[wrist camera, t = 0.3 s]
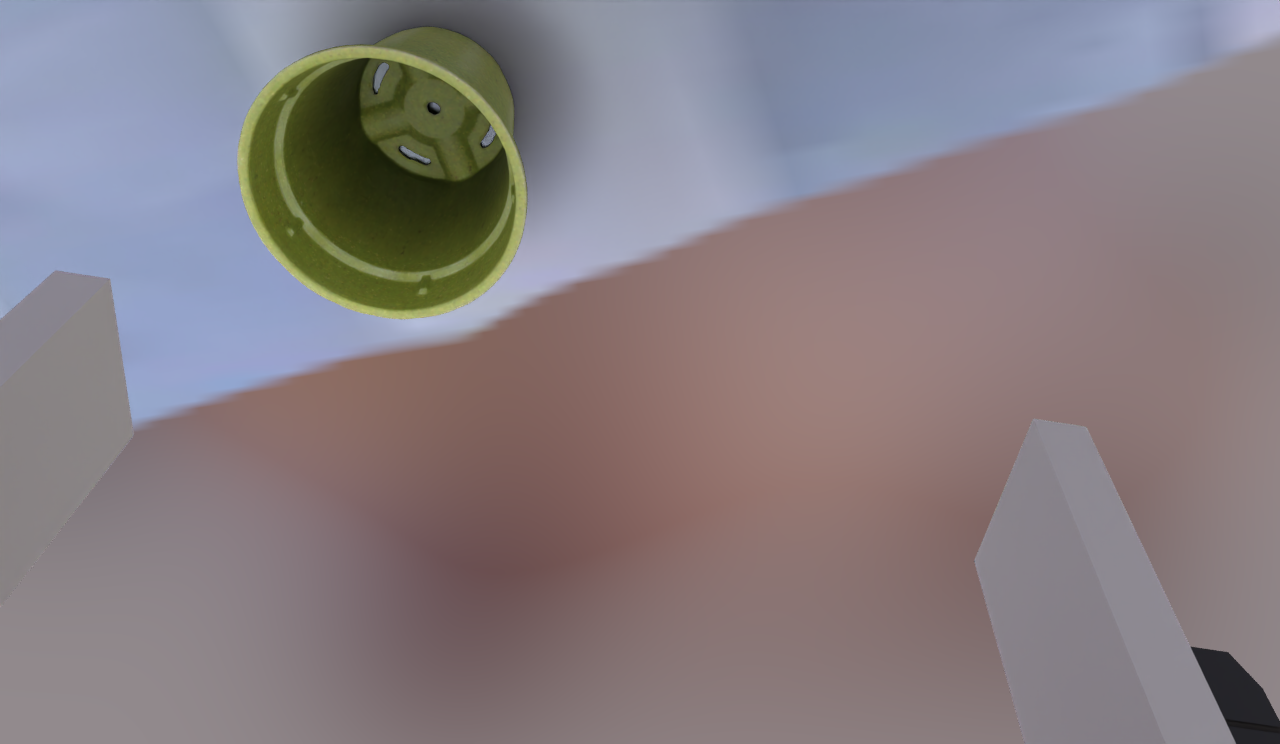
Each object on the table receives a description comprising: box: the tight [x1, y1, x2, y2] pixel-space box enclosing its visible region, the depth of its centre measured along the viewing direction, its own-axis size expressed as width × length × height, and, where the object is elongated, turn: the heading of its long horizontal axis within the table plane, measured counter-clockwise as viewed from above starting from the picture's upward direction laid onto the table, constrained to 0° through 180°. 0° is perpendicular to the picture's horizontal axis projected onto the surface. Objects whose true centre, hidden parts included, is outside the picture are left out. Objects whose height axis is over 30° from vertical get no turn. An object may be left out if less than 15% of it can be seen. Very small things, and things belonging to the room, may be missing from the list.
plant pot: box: [237, 27, 527, 319], centre depth 39 cm, size 9×9×9 cm
